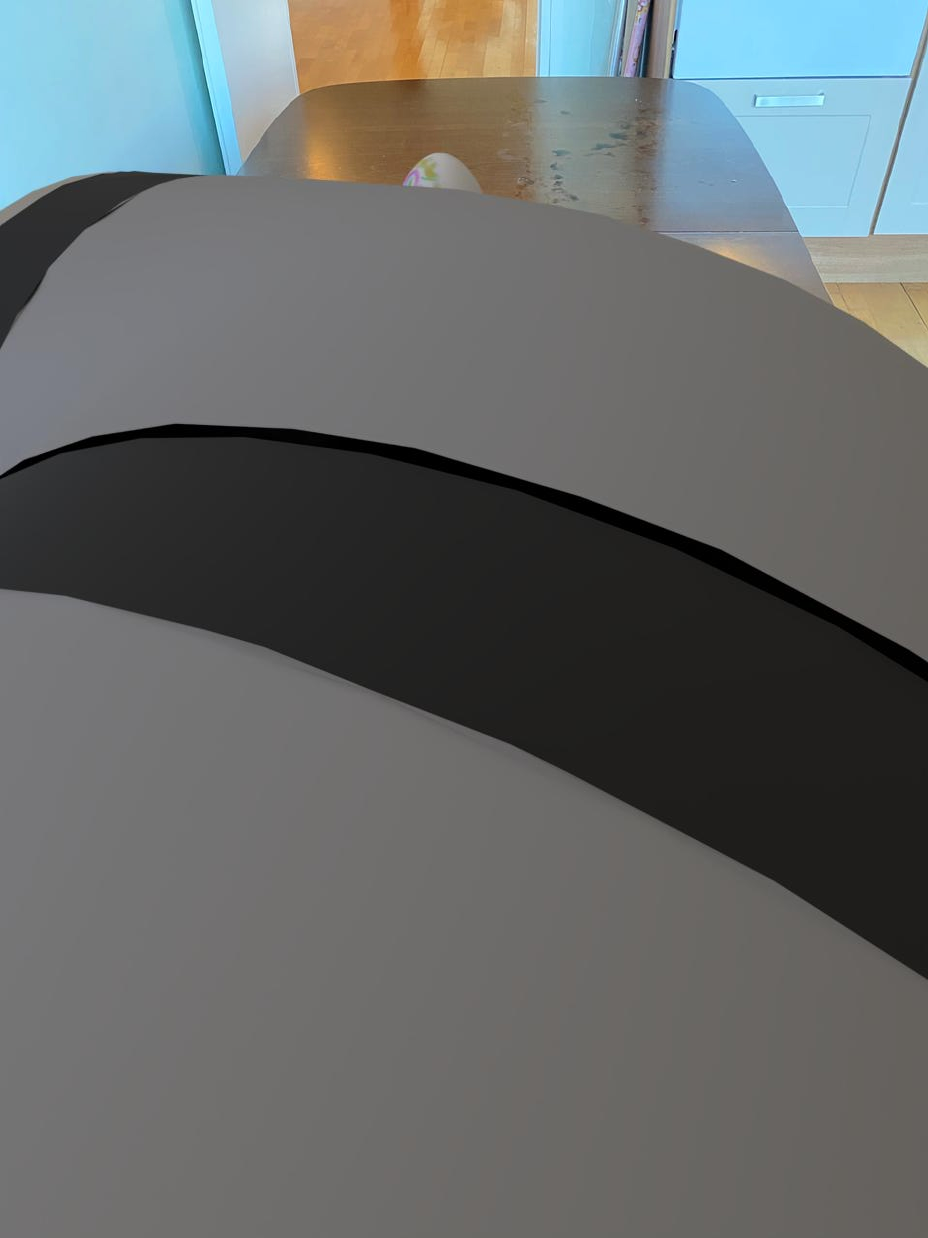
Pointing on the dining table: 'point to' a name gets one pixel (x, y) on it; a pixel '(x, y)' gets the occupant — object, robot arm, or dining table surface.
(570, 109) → the dining table surface
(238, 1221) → the robot arm
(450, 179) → the decorative egg
